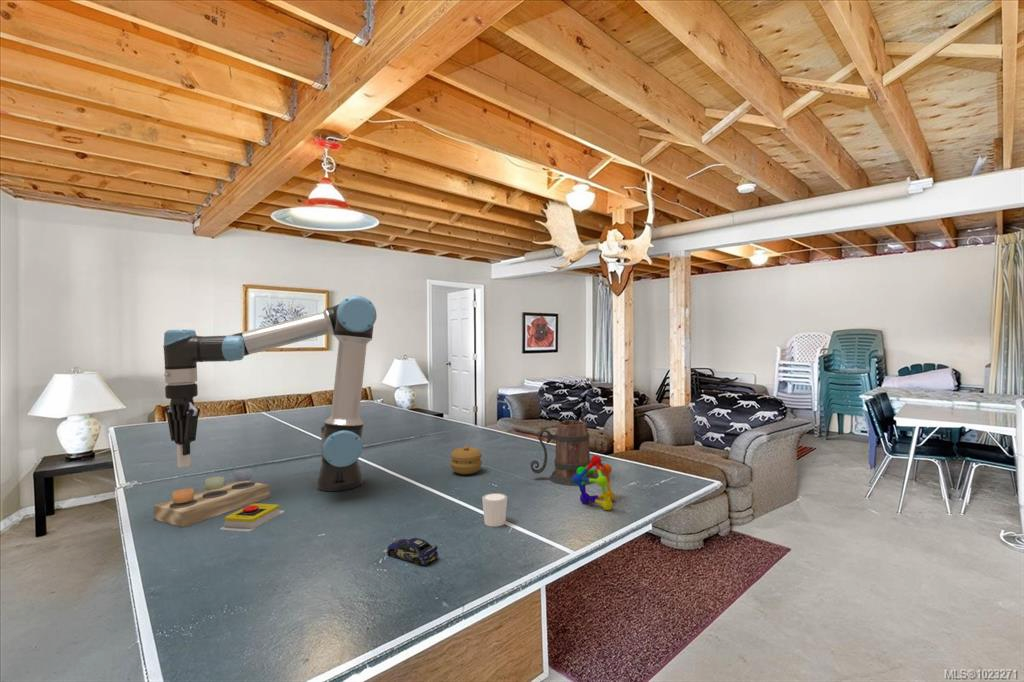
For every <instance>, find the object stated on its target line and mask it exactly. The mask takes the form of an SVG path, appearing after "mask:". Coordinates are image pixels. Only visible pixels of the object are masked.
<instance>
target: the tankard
mask: <svg viewBox="0 0 1024 682" xmlns="http://www.w3.org/2000/svg"><path fill="white" fill-rule="evenodd" d="M544 433H546V438H547V440H546V441H545V442H546V443H547V444H549V443H550V442H552V440H553V438H554V439H555V458H554V471H552V473H551V475H550V476H549V477H548V478H549V479H548V480H549V481H550V482H552V483H554V484H557V485H560V486H561V485H562V486H567V487H568V486H569V487H579V486H578V485H577V484H575V483H574V482H573V476H574V475H575V474H577V469H578V468H579V467H586V466H587V465H588V464H590V463H591V456H590V455H591V454H590V433H589V430H588V425H587V422H585V421H579V420H573V419H571V420H570V419H567V420H562V421H558V422H557V427H556V432H555V434H553V433H551V432H550V431H549V430H548V429H547V428H544V429H541V430H539V431H538V437H537V438H538V441H539V443H540V445H541V446H542V449H543V452H544V459H543V463H542V465H541V466H540V462H539V461H538V460H537V459H535V460H532V461H531V462H530V464H529V465H530V470H531V471H532V472H533V473H534V474H541V473H542V472H543V471H545V469H546V466H547V463H548V452H547V449H546V445H545V444H544V442H543V439H542V435H543V434H544ZM535 464H537V465H535ZM534 465H535V466H534ZM533 466H534V467H533ZM539 467H540V468H539ZM538 468H539V469H538ZM584 478H592V479H597V478H598V477H596V476H595V475H594V472H592V473H586V475H585V476H584ZM594 483H595V482H585V486H589V485H592V484H593V485H594ZM595 484H596V483H595Z"/></svg>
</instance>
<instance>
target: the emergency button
mask: <svg viewBox="0 0 1024 682" xmlns="http://www.w3.org/2000/svg"><path fill="white" fill-rule="evenodd" d="M284 513H285V510H280V505H279V504H275V503H274V504H271V503H257V502H255V503H252V504H250V505H247V506H244V507H241V509H240V508H239V510H238V509H237V511H234V512H232V513H231V514H228V515H226V516H225V517H224V524H223V526H222V527H221V528H219V529H220V531H229V532H231V531H232V532H251V531H253V530H255V529H257V528H259V527H261V526H262V525H265V524H266V523H267V522H270V521H271V520H273V519H275V518H276V517H279V516H280V515H282V514H284Z"/></svg>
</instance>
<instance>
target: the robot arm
mask: <svg viewBox="0 0 1024 682" xmlns="http://www.w3.org/2000/svg"><path fill="white" fill-rule="evenodd" d="M377 318H378V317H377V309H376V307H375V305H374V303H373V302H372V301H371V299H368V298H367V297H365V296H362V295H349V296H347V297H345V298H343V299H341V301H340V303H338V304H336V305H334V306H331V307H326V308H324V310H323V311H322V312H319V313H315V314H311V315H307V316H303V317H298V318H295V319H291V320H287V321H283V322H279V323H275V324H269V325H266V326H262V327H258V328H254V329H251V330H246V331H242V332H238V333H237V332H236V333H234V334H229V335H207V336H204V335H203V336H202V335H198V334H196V333H197V332H196V330H195V329H168V330H166V331H165V332H163V333H164V334H163V336H164V337H163V346H162V347H163V356H164V357H163V358H164V373H163V376H164V382H165V384H167V385H165V387H164V390H165V391H164V392H165V393H164V394H165V398H166V399H168V400H170V402H169V406H168V407H165V408H164V412H165V415H166V417H167V424H168V430H169V436H170V441H172V442H174V443H175V444H176V461H177V462H176V463H177V464H176V465H177V468H185V467H188V466H191V443H192V442H194V441H196V439H197V431H198V420H199V416H200V413H201V408H200V407H199V408H198V407H197V408H196V407H195V402H194V398H195V397H197V396H199V395H198V384H197V383H196V382H198V365H197V364H198V363H206V362H230V363H231V362H235V361H242V360H243V359H244V357H245V356H249V355H252V354H255V353H256V354H257V353H260V352H264V351H268V350H271V349H275V348H279V347H283V346H287V345H290V344H295V343H298V342H302V341H305V340H309V339H314V338H318V337H321V336H325V335H328V334H329V335H332V336H334V337H335V339H336V340H338V346H337V347H338V348H337V354H336V355H337V358H336V367H335V376H334V383H333V385H334V386H333V394H332V401H331V412H330V416H328V417H329V418H327V419H324V420H322V422H321V424H320V425H321V426H320V431H321V432H320V433H321V434H320V435H321V437H320V439H321V466H320V471H319V473H318V477H317V479H316V489H317V490H319V491H323V492H340V491H348V490H351V489H355V488H357V487H360V486H361V485H363V483H364V480H363V479H364V476H363V475H364V474H363V473H362V471H361V467H360V465H359V461H358V460H359V458H360V457H361V455H362V453H363V449H364V445H363V444H364V443H363V440H362V439H363V432H364V431H363V429H364V422H363V420H362V419H361V418H360V411H361V410H360V409H361V403H362V402H361V400H362V391H363V382H364V376H365V375H364V373H365V365H366V355H367V346H368V343H370V342H371V341H373V334H374V325H375V323H376V321H377Z"/></svg>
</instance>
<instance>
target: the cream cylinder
mask: <svg viewBox="0 0 1024 682" xmlns="http://www.w3.org/2000/svg"><path fill="white" fill-rule="evenodd" d="M481 499H482V500H481V501H482V510H483V520H484V525H486V526H488V527H494V528H495V527H502V526H503V525H505V524H506V518H507V505H508V496H507V495H506V494H505V493H504V494H503V493H501V492H500V493H498V492H497V493H496V492H494V493H488V494H484V495H483V496H482V497H481Z"/></svg>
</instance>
